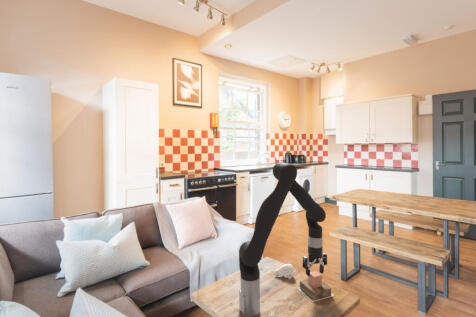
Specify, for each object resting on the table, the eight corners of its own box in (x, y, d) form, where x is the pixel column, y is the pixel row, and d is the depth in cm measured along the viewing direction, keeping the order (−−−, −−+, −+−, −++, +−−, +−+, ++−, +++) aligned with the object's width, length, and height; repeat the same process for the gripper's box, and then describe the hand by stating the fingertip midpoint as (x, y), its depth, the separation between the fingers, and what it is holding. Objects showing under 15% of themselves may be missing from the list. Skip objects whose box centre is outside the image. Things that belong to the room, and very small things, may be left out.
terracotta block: (313, 288, 137) (314, 276, 137) (308, 283, 142) (308, 272, 141) (321, 286, 139) (321, 275, 138) (315, 281, 143) (315, 270, 143)
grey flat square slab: (312, 304, 131) (312, 302, 131) (296, 289, 144) (296, 287, 144) (334, 297, 137) (334, 295, 136) (317, 284, 150) (317, 282, 149)
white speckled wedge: (292, 266, 153) (272, 266, 156) (294, 281, 153) (273, 280, 156) (293, 262, 159) (273, 262, 162) (294, 275, 159) (274, 275, 162)
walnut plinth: (313, 300, 133) (313, 292, 133) (299, 288, 144) (299, 281, 144) (331, 295, 137) (331, 288, 137) (316, 284, 148) (316, 277, 148)
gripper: (308, 249, 133) (308, 280, 134) (330, 245, 138) (330, 275, 139) (299, 244, 140) (299, 273, 141) (321, 240, 145) (321, 268, 146)
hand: (314, 274), depth 140 cm, fingers open, 8 cm apart
